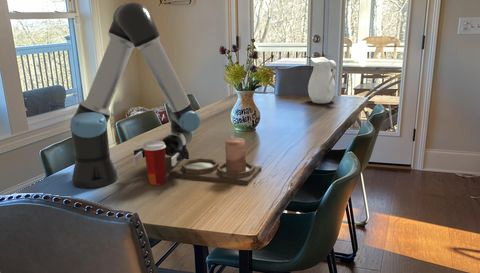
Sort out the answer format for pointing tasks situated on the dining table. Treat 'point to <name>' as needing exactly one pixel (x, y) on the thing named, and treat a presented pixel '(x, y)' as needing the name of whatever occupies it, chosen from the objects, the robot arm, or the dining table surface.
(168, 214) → the dining table surface
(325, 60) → the pitcher
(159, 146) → the paper cup
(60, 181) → the dining table surface
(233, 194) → the dining table surface
